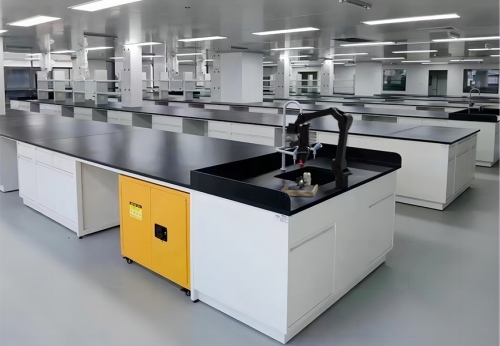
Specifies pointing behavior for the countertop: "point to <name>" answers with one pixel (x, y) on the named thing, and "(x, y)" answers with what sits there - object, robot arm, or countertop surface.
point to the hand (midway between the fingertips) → (304, 162)
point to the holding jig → (299, 193)
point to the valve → (304, 180)
